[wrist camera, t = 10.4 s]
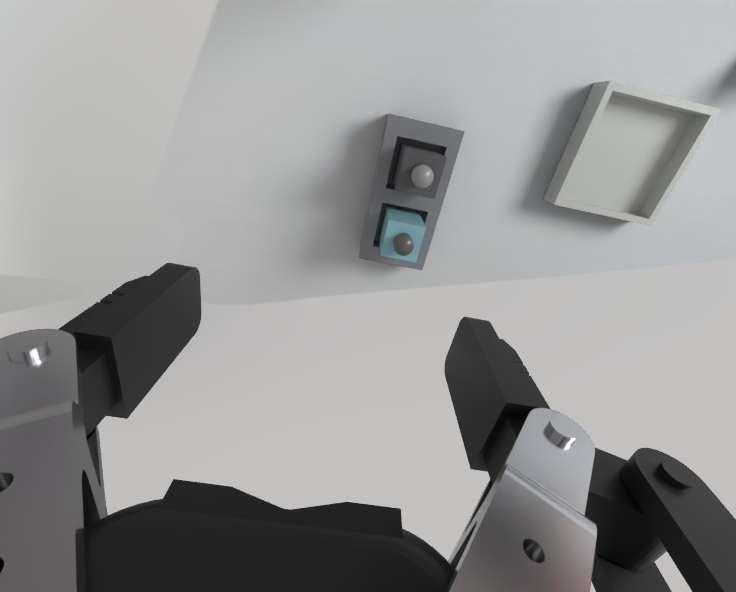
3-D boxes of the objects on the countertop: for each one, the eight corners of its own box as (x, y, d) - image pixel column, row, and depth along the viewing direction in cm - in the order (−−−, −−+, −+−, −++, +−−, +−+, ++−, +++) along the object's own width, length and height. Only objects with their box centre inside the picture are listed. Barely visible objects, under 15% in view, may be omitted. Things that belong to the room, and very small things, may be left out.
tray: (593, 83, 36) (610, 80, 34) (698, 109, 37) (721, 109, 35) (542, 199, 42) (553, 204, 39) (634, 219, 43) (650, 225, 41)
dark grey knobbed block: (400, 142, 38) (407, 149, 31) (434, 150, 39) (450, 159, 31) (392, 179, 40) (396, 194, 33) (425, 186, 40) (437, 202, 33)
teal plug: (386, 204, 41) (389, 224, 34) (418, 211, 42) (428, 232, 34) (379, 235, 43) (380, 260, 36) (409, 241, 44) (417, 268, 36)
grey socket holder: (387, 113, 38) (389, 113, 35) (456, 130, 38) (464, 131, 35) (360, 248, 45) (359, 258, 42) (418, 259, 46) (422, 270, 43)
